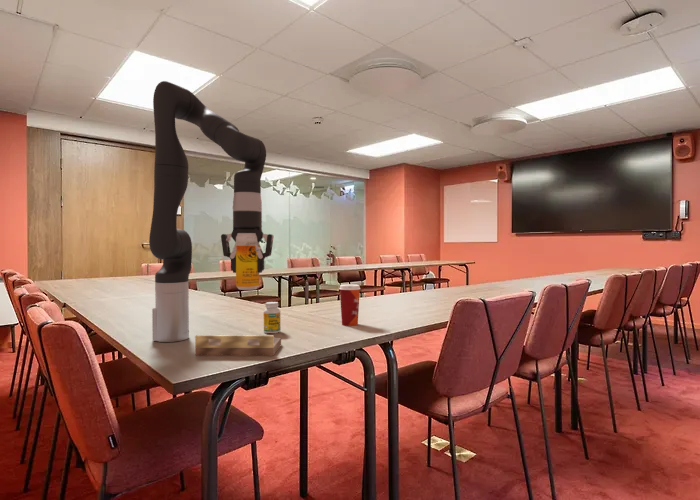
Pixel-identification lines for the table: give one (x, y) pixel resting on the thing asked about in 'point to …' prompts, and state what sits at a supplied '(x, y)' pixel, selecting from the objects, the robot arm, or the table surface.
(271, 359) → the table surface
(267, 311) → the supplement bottle
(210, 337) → the tan wooden block
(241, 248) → the orange vitamin bottle
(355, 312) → the paper cup
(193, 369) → the table surface
